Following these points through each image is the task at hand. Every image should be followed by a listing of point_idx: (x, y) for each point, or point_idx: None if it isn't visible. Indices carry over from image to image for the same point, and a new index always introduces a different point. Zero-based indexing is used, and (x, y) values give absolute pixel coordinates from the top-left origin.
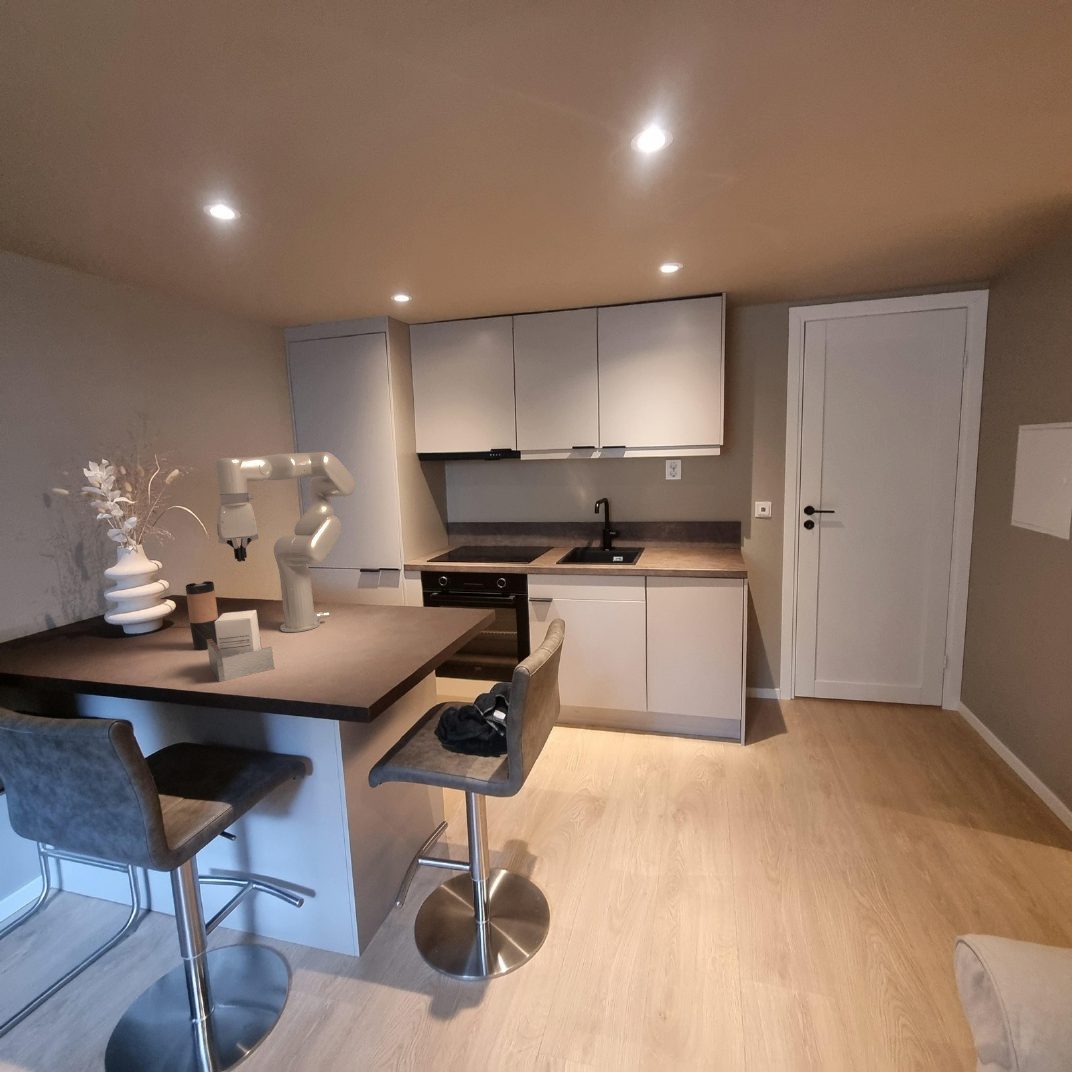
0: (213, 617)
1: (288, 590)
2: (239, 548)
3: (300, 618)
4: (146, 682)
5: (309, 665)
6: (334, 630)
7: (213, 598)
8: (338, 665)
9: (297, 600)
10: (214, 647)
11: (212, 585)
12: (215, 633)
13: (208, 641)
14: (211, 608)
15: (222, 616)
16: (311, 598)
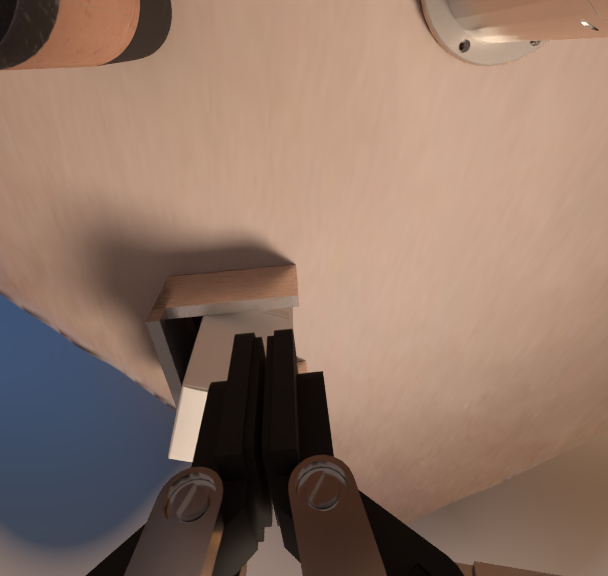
0: (120, 48)
1: (564, 3)
2: (260, 541)
3: (507, 40)
4: (28, 291)
5: (371, 387)
6: (557, 140)
7: (83, 24)
8: (414, 415)
9: (556, 37)
10: (178, 400)
11: (34, 6)
12: (147, 47)
13: (153, 342)
14: (95, 50)
15: (186, 425)
16: None
